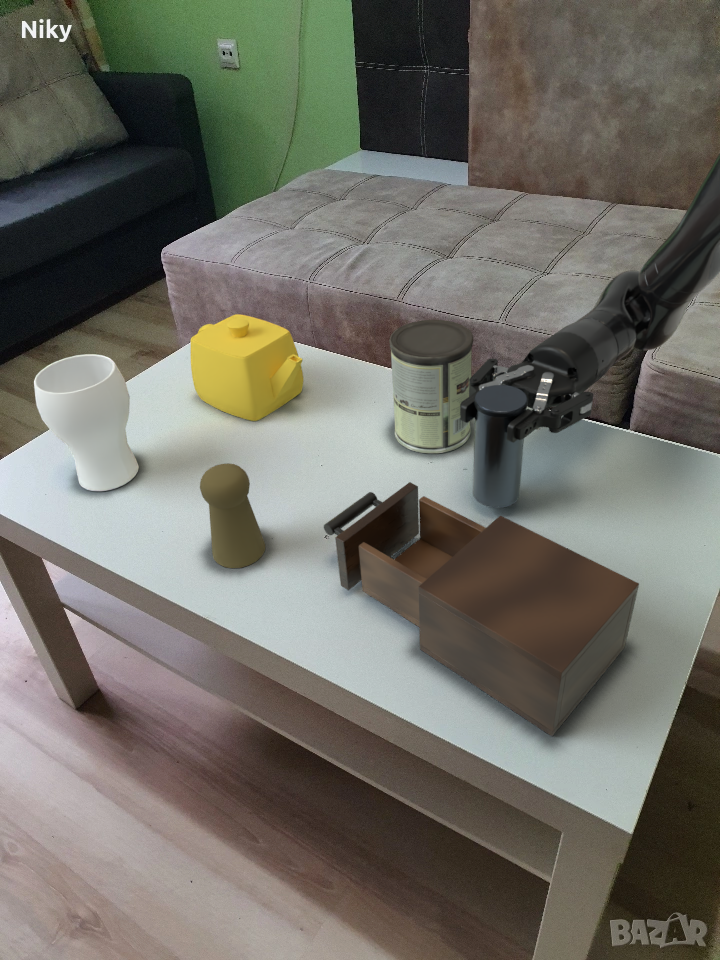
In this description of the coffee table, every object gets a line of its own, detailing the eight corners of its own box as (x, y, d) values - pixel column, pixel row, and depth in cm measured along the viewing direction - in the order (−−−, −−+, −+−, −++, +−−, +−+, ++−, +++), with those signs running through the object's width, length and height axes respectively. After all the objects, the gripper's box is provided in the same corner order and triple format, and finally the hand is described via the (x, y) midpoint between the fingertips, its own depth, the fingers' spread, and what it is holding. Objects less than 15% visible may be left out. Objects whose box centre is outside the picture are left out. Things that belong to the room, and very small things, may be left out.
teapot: (333, 396, 110) (325, 322, 103) (274, 436, 103) (262, 360, 96) (238, 361, 121) (225, 292, 114) (179, 395, 114) (161, 323, 106)
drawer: (312, 567, 81) (305, 519, 77) (383, 514, 87) (380, 467, 83) (442, 651, 71) (442, 601, 67) (511, 584, 77) (516, 535, 73)
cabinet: (419, 649, 72) (417, 586, 67) (496, 577, 79) (500, 515, 74) (552, 737, 64) (561, 672, 59) (624, 648, 71) (639, 583, 66)
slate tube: (525, 483, 89) (533, 388, 81) (513, 512, 85) (520, 415, 77) (479, 474, 91) (482, 380, 83) (465, 502, 87) (467, 407, 79)
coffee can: (403, 408, 107) (399, 316, 98) (476, 415, 104) (479, 321, 96) (385, 450, 99) (380, 354, 90) (463, 458, 96) (465, 360, 88)
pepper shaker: (201, 552, 85) (181, 475, 79) (242, 524, 89) (226, 448, 82) (235, 576, 82) (217, 497, 75) (276, 546, 85) (262, 469, 79)
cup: (122, 440, 105) (91, 343, 96) (165, 469, 99) (137, 368, 89) (52, 477, 99) (12, 377, 90) (93, 510, 93) (55, 406, 84)
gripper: (521, 315, 91) (432, 373, 81) (632, 349, 82) (547, 417, 73) (517, 370, 95) (433, 430, 86) (623, 407, 87) (541, 478, 78)
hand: (486, 424), depth 80 cm, fingers closed on slate tube, 5 cm apart
